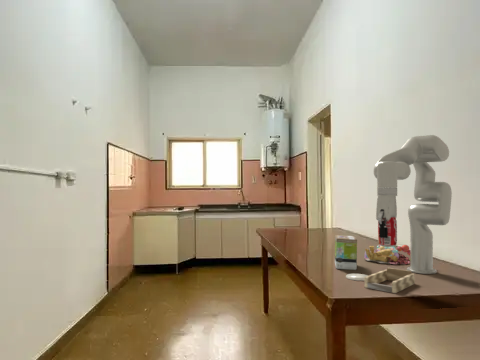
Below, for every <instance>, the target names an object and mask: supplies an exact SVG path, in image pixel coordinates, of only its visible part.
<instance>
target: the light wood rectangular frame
mask: <svg viewBox="0 0 480 360" xmlns="http://www.w3.org/2000/svg"><path fill="white" fill-rule="evenodd" d="M415 274H416V273H413V272H411V271H408V270H407V269H402V268H401V269H400V268H393V267H387V268H386V269H383V270H380V271H377V272H374V273H372V274H369V275H368V276H366V277H365V281H364V288H365V289H372V290H378V291H382V292H386V293H387V292H388V293H391V294H397V293H398V292H401V291H403V290H405V289H407V288H409V287H411V286H413V285H415V278H416V277H415ZM386 281H392V283H391V285H387V284H381V283H382V282H386Z"/></svg>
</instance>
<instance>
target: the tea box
mask: <svg viewBox="0 0 480 360" xmlns="http://www.w3.org/2000/svg"><path fill="white" fill-rule="evenodd" d="M357 253H358V239H357V238H356V237H355V236H354V235H340V234H339V235H337V234H335V235H334V264H335V269H337V270H338V269H339V270H352V271H353V270H354V271H356V270H357V267H358V266H357V264H358V262H357V260H358V258H357V257H358V254H357Z"/></svg>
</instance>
